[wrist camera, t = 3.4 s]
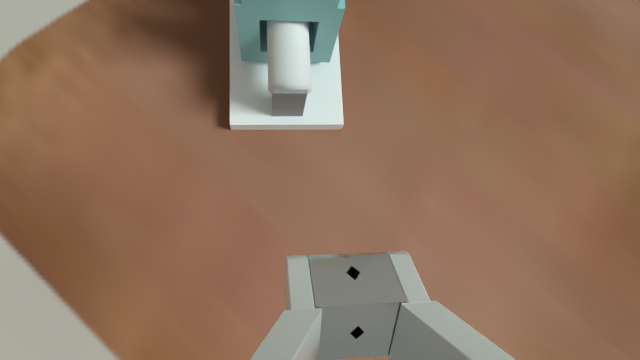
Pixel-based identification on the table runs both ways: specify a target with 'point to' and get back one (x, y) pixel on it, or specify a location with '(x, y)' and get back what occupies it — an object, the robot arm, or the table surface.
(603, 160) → the table surface
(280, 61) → the pipe stand
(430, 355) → the robot arm
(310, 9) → the teal notched saddle block
